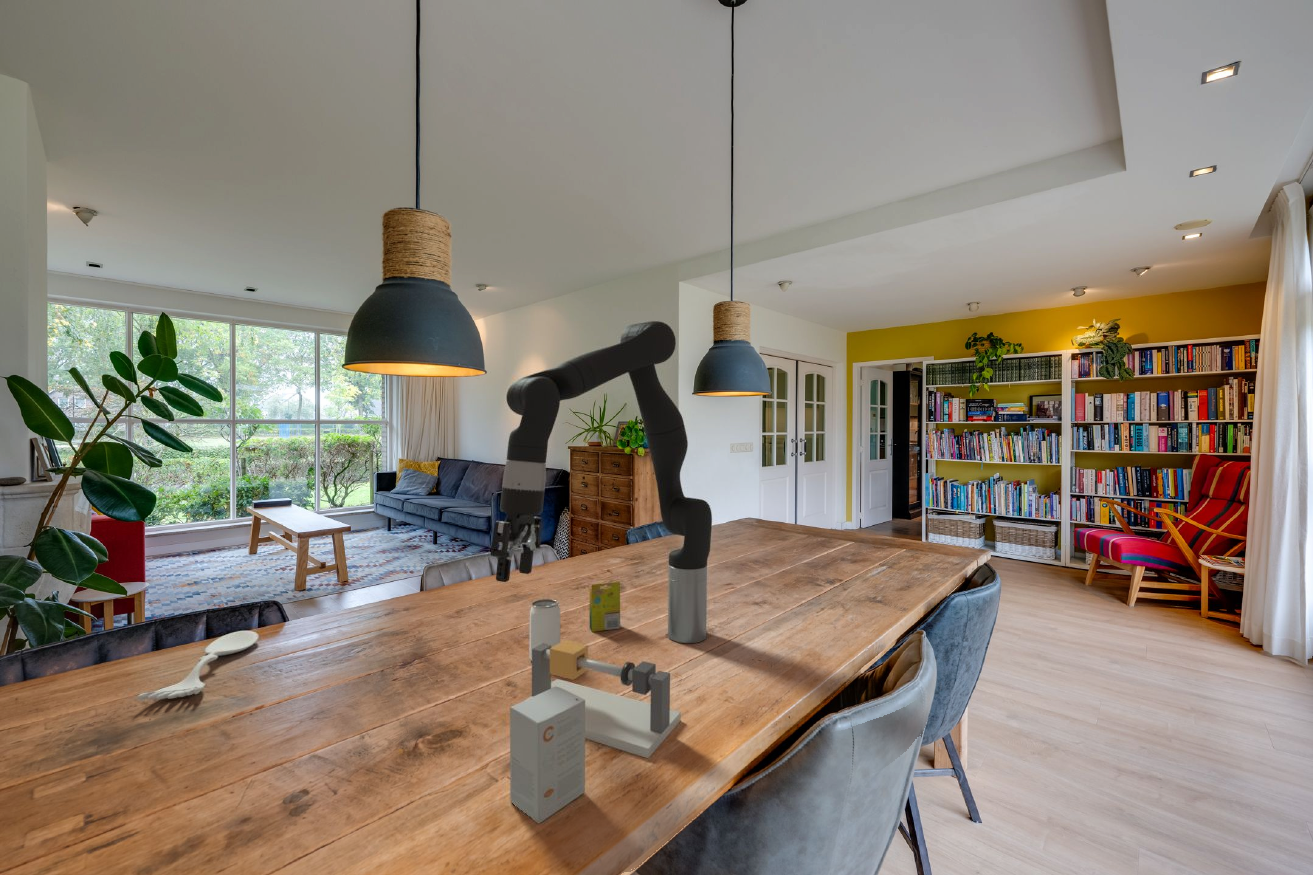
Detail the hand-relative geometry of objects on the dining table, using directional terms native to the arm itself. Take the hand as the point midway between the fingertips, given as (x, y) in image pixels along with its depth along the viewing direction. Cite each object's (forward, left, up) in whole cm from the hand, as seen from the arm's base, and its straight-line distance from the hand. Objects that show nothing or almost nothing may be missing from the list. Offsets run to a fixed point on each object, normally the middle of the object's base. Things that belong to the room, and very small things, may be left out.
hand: (514, 576), depth 98 cm
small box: (+17, +21, -23) cm, 36 cm away
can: (-18, -7, -23) cm, 30 cm away
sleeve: (-3, +10, -16) cm, 19 cm away
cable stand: (-3, +16, -23) cm, 28 cm away
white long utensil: (+18, -63, -23) cm, 70 cm away
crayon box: (-39, -5, -23) cm, 46 cm away
